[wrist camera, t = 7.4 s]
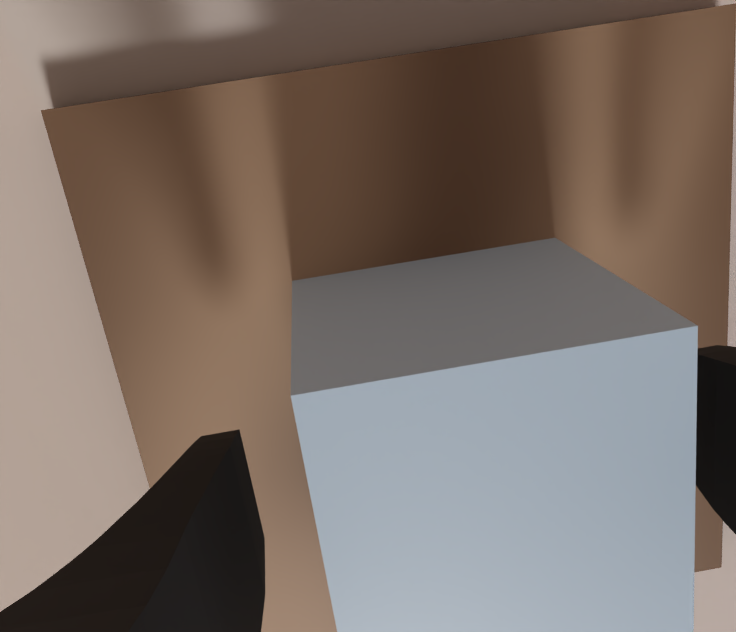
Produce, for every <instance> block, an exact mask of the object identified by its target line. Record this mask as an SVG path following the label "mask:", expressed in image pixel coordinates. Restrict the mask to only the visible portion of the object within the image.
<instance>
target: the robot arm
mask: <svg viewBox="0 0 736 632" xmlns="http://www.w3.org/2000/svg"><path fill="white" fill-rule="evenodd" d="M696 486H697V488H698V489H699V490H700V492H701V493H702V495H703V496H704V497H705V499H706V500H707V501H708V503H709V504H710V506H711V507H712V508H713V510H714V511H715V512H716V513H717V514H718V515H719V516H720V518H721V519H722V520H723V521H724V522H725V523H726V524H727V525H728V526H729V528H730V529H731V530H732V531H733V532H734V533H735V534H736V347H731V346H721V345H715V346H709V347H703V348H698V353H697V422H696ZM264 602H265V537H264V533H263V529H262V524H261V520H260V516H259V511H258V507H257V503H256V498H255V494H254V490H253V485H252V481H251V477H250V473H249V468H248V464H247V460H246V455H245V451H244V447H243V442H242V438H241V434H240V429H239V430H233V431H227V432H222V433H216V434H210V435H205V436H201V437H200V438H198V439H197V440H196V441H195V442H194V443H193V444H192V445H191V446H190V447H189V448H188V449H187V450H186V451H185V452H184V453H183V454H182V456H181V457H180V458H179V459H178V460H177V461H176V462H175V463H174V464H173V465H172V466H171V467H170V468H169V469H168V471H167V472H166V473H165V474H164V475H163V476H162V477H161V478H160V479H159V480H158V481H157V482H156V483H155V484H154V485H153V486H152V487H151V488H150V489H149V490H148V491H147V492H146V493H145V495H144V496H143V497H142V498H141V499H140V500H139V501H138V502H137V503H136V504H134V505H133V506H132V507H131V508H130V509H129V510H128V511H127V512H126V513H125V514H124V515H123V516H122V517H121V518H120V519H118V520H117V521H116V522H115V523H114V524H113V525H112V526H111V527H110V528H109V529H108V530H107V531H106V532H105V533H104V534H102V535H101V536H100V537H99V538H98V539H97V540H96V541H95V542H94V543H92V544H91V545H90V546H89V547H88V548H87V549H85V550H84V551H83V552H82V553H81V554H79V555H78V556H77V557H76V558H75V559H73V560H72V561H71V562H70V563H68V564H67V565H66V566H64V567H63V568H62V569H60V570H59V571H58V572H57V573H55V574H54V575H53V576H51V577H50V578H49V579H47V580H46V581H45V582H44V583H42V584H41V585H39V586H38V587H37V588H35V589H34V590H33V591H31V592H30V593H28V594H27V595H25V596H24V597H22V598H21V599H19V600H18V601H16V602H15V603H13V604H12V605H10V606H9V607H7V608H6V609H4V610H3V611H1V612H0V632H261V628H262V620H263V611H264Z"/></svg>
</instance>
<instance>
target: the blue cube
mask: <svg viewBox="0 0 736 632" xmlns="http://www.w3.org/2000/svg"><path fill="white" fill-rule="evenodd" d="M697 353H698V326H697V325H696V324H694V323H693V322H691V321H689V320H688V319H686V318H684V317H683V316H681V315H680V314H678V313H676V312H675V311H673V310H671V309H670V308H668V307H667V306H665V305H663V304H662V303H660V302H659V301H657V300H655V299H654V298H652V297H650V296H649V295H647V294H646V293H644V292H642V291H641V290H639V289H637V288H636V287H634V286H633V285H631V284H629V283H628V282H626V281H624V280H623V279H621V278H620V277H618V276H616V275H615V274H613V273H611V272H610V271H608V270H607V269H605V268H603V267H602V266H600V265H599V264H597V263H595V262H594V261H592V260H590V259H589V258H587V257H586V256H584V255H582V254H581V253H579V252H577V251H576V250H574V249H573V248H571V247H569V246H568V245H566V244H564V243H563V242H561V241H560V240H558V239H556V238H550V239H544V240H538V241H532V242H526V243H520V244H514V245H507V246H501V247H495V248H489V249H483V250H477V251H471V252H465V253H459V254H453V255H447V256H441V257H434V258H428V259H422V260H416V261H410V262H404V263H398V264H392V265H386V266H380V267H374V268H367V269H361V270H355V271H349V272H343V273H337V274H331V275H325V276H319V277H313V278H307V279H300V280H294V281H292V328H291V400H292V405H293V410H294V415H295V421H296V426H297V431H298V436H299V441H300V446H301V451H302V456H303V461H304V466H305V471H306V476H307V481H308V486H309V491H310V496H311V502H312V507H313V512H314V517H315V522H316V527H317V532H318V537H319V542H320V547H321V552H322V557H323V562H324V567H325V572H326V578H327V583H328V588H329V593H330V598H331V603H332V608H333V613H334V618H335V623H336V628H337V632H693V630H694V560H695V491H696V422H697Z"/></svg>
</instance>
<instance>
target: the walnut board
mask: <svg viewBox="0 0 736 632" xmlns="http://www.w3.org/2000/svg"><path fill="white" fill-rule="evenodd" d="M735 28H736V4H730V5H723V6H717V7H710V8H704V9H697V10H691V11H684V12H678V13H671V14H665V15H658V16H652V17H645V18H639V19H632V20H626V21H619V22H613V23H606V24H600V25H593V26H587V27H580V28H574V29H567V30H561V31H554V32H548V33H541V34H535V35H528V36H522V37H515V38H509V39H502V40H496V41H489V42H483V43H476V44H470V45H463V46H457V47H450V48H444V49H437V50H431V51H424V52H418V53H411V54H405V55H398V56H392V57H385V58H379V59H372V60H366V61H359V62H353V63H346V64H340V65H333V66H327V67H320V68H314V69H307V70H301V71H294V72H288V73H281V74H275V75H268V76H262V77H255V78H249V79H242V80H236V81H229V82H223V83H216V84H210V85H203V86H197V87H190V88H184V89H177V90H171V91H164V92H158V93H151V94H145V95H138V96H132V97H125V98H119V99H112V100H106V101H99V102H93V103H86V104H80V105H73V106H67V107H60V108H54V109H47V110H41V112H42V116H43V119H44V123H45V126H46V130H47V133H48V137H49V140H50V144H51V147H52V150H53V154H54V157H55V161H56V164H57V168H58V171H59V175H60V178H61V182H62V185H63V189H64V192H65V196H66V199H67V202H68V206H69V209H70V213H71V216H72V220H73V223H74V227H75V230H76V234H77V237H78V241H79V244H80V248H81V251H82V254H83V258H84V261H85V265H86V268H87V272H88V275H89V279H90V282H91V286H92V289H93V293H94V296H95V300H96V303H97V306H98V310H99V313H100V317H101V320H102V324H103V327H104V331H105V334H106V338H107V341H108V345H109V348H110V352H111V355H112V358H113V362H114V365H115V369H116V372H117V376H118V379H119V383H120V386H121V390H122V393H123V397H124V400H125V404H126V407H127V410H128V414H129V417H130V421H131V424H132V428H133V431H134V435H135V438H136V442H137V445H138V449H139V452H140V456H141V459H142V462H143V466H144V469H145V473H146V476H147V480H148V483H149V487H150V488H151V487H152V486H153V485H154V484H155V483H156V482H157V481H158V480H159V479H160V478H161V477H162V476H163V475H164V474H165V473H166V472H167V471H168V469H169V468H170V467H171V466H172V465H173V464H174V463H175V462H176V461H177V460H178V459H179V458H180V457H181V456H182V454H183V453H184V452H185V451H186V450H187V449H188V448H189V447H190V446H191V445H192V444H193V443H194V442H195V441H196V440H197V439H198V438H200V437H201V436H205V435H210V434H216V433H222V432H227V431H233V430H239V429H240V434H241V438H242V442H243V447H244V451H245V455H246V460H247V464H248V468H249V473H250V477H251V481H252V485H253V490H254V494H255V498H256V503H257V507H258V511H259V516H260V520H261V524H262V529H263V533H264V537H265V602H264V611H263V620H262V628H261V632H337V628H336V623H335V618H334V613H333V608H332V603H331V598H330V593H329V588H328V583H327V578H326V572H325V567H324V562H323V557H322V552H321V547H320V542H319V537H318V532H317V527H316V522H315V517H314V512H313V507H312V502H311V496H310V491H309V486H308V481H307V476H306V471H305V466H304V461H303V456H302V451H301V446H300V441H299V436H298V431H297V426H296V421H295V415H294V410H293V405H292V400H291V328H292V281H294V280H300V279H307V278H313V277H319V276H325V275H331V274H337V273H343V272H349V271H355V270H361V269H367V268H374V267H380V266H386V265H392V264H398V263H404V262H410V261H416V260H422V259H428V258H434V257H441V256H447V255H453V254H459V253H465V252H471V251H477V250H483V249H489V248H495V247H501V246H507V245H514V244H520V243H526V242H532V241H538V240H544V239H550V238H556V239H558V240H560V241H561V242H563V243H564V244H566V245H568V246H569V247H571V248H573V249H574V250H576V251H577V252H579V253H581V254H582V255H584V256H586V257H587V258H589V259H590V260H592V261H594V262H595V263H597V264H599V265H600V266H602V267H603V268H605V269H607V270H608V271H610V272H611V273H613V274H615V275H616V276H618V277H620V278H621V279H623V280H624V281H626V282H628V283H629V284H631V285H633V286H634V287H636V288H637V289H639V290H641V291H642V292H644V293H646V294H647V295H649V296H650V297H652V298H654V299H655V300H657V301H659V302H660V303H662V304H663V305H665V306H667V307H668V308H670V309H671V310H673V311H675V312H676V313H678V314H680V315H681V316H683V317H684V318H686V319H688V320H689V321H691V322H693V323H694V324H696V325H697V326H698V348H703V347H709V346H715V345H721V346H727V334H728V296H729V258H730V220H731V181H732V143H733V105H734V67H735ZM722 526H723V520H722V519H721V518H720V516H719V515H718V514H717V513H716V512H715V511H714V510H713V508H712V507H711V506H710V504H709V503H708V501H707V500H706V499H705V497H704V496H703V495H702V493H701V492H700V490H699V489H698V488H697V486H696V491H695V560H694V572H699V571H704V570H709V569H714V568H720V567H721V564H722Z"/></svg>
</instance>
